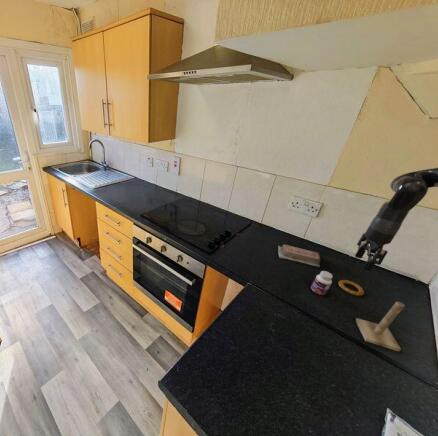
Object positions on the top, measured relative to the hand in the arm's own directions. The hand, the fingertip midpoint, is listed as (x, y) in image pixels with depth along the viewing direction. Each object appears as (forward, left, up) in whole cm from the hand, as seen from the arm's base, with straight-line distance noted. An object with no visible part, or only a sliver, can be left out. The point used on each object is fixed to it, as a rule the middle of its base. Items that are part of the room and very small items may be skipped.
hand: (361, 263), depth 91 cm
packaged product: (+16, -18, -15) cm, 28 cm away
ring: (-2, -2, -14) cm, 14 cm away
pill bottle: (+12, +6, -15) cm, 20 cm away
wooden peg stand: (-2, +22, -15) cm, 27 cm away
